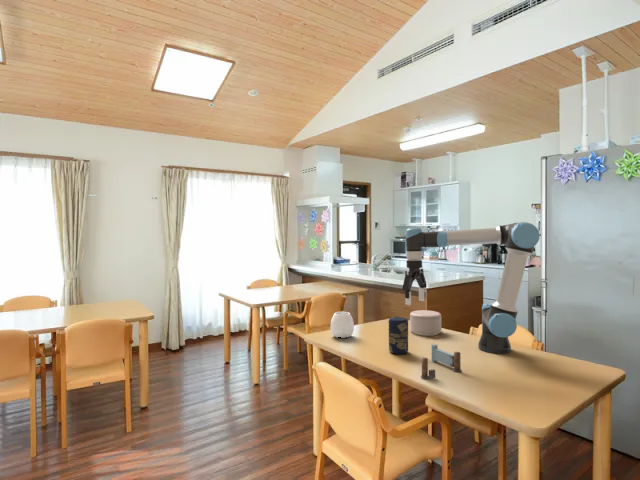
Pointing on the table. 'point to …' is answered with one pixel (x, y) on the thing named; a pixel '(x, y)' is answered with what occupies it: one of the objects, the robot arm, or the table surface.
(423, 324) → the container
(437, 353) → the gate
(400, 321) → the canister
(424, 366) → the gateposts
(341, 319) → the cup
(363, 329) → the table surface
